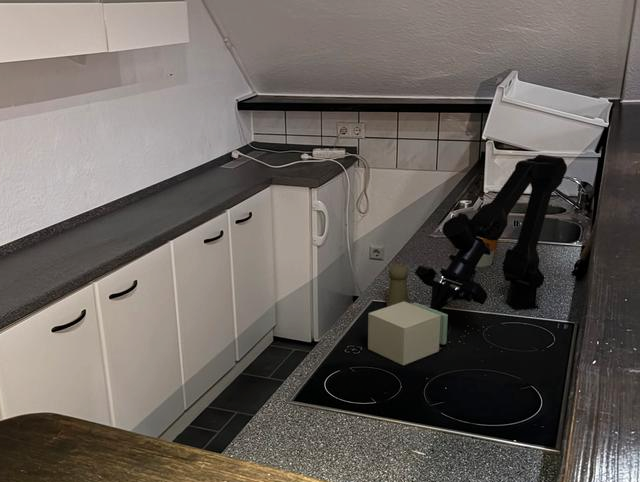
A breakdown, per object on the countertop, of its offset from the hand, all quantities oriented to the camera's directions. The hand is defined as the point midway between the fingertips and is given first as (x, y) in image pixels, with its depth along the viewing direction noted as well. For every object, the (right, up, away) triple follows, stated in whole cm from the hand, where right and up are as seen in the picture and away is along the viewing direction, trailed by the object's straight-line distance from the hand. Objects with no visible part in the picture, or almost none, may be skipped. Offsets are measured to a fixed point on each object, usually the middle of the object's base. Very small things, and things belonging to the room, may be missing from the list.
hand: (431, 313), depth 180 cm
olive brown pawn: (-4, +2, +24) cm, 25 cm away
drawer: (-4, -7, -1) cm, 8 cm away
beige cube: (-7, -9, -3) cm, 12 cm away
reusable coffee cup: (+25, +15, +55) cm, 62 cm away
